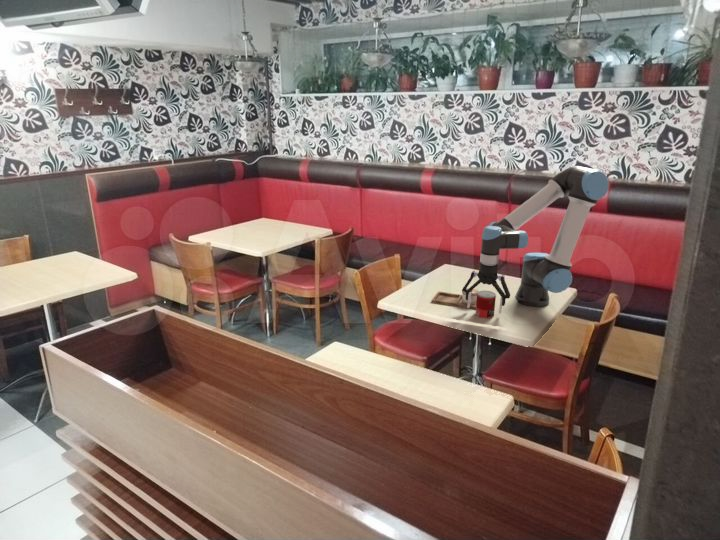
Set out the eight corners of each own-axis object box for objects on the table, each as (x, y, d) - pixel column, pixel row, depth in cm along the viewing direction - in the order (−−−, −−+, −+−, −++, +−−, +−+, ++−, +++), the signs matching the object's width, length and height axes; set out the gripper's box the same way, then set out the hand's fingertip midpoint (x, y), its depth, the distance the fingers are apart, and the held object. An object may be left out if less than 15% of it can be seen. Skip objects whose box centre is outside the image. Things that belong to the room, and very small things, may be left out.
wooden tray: (484, 303, 249) (484, 298, 248) (479, 312, 239) (479, 307, 238) (438, 296, 257) (438, 291, 256) (431, 304, 247) (431, 299, 246)
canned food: (490, 322, 229) (492, 298, 225) (472, 318, 233) (474, 294, 229) (496, 316, 235) (498, 292, 231) (478, 312, 239) (480, 289, 235)
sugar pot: (479, 301, 248) (480, 286, 245) (476, 307, 241) (477, 292, 239) (463, 299, 250) (464, 284, 248) (459, 304, 244) (460, 289, 241)
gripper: (520, 264, 224) (514, 311, 231) (461, 256, 234) (457, 302, 240) (518, 269, 218) (512, 317, 225) (457, 261, 227) (453, 307, 234)
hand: (484, 309), depth 232 cm, fingers open, 13 cm apart
